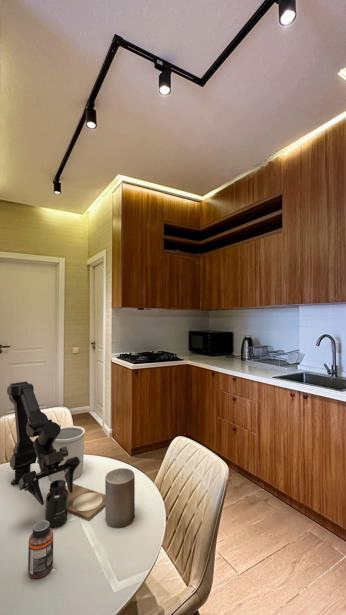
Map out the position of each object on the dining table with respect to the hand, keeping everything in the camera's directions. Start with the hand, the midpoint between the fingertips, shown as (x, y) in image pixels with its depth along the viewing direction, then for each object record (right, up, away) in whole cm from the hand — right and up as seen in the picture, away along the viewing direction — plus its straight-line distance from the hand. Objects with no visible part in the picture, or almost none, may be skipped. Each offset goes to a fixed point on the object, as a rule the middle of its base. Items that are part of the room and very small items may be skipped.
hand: (57, 498), depth 93 cm
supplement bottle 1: (+3, -7, -18) cm, 19 cm away
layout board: (+4, -8, +10) cm, 13 cm away
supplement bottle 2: (0, -8, 0) cm, 8 cm away
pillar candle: (+20, -8, +2) cm, 21 cm away
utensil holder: (-8, -9, +29) cm, 31 cm away
